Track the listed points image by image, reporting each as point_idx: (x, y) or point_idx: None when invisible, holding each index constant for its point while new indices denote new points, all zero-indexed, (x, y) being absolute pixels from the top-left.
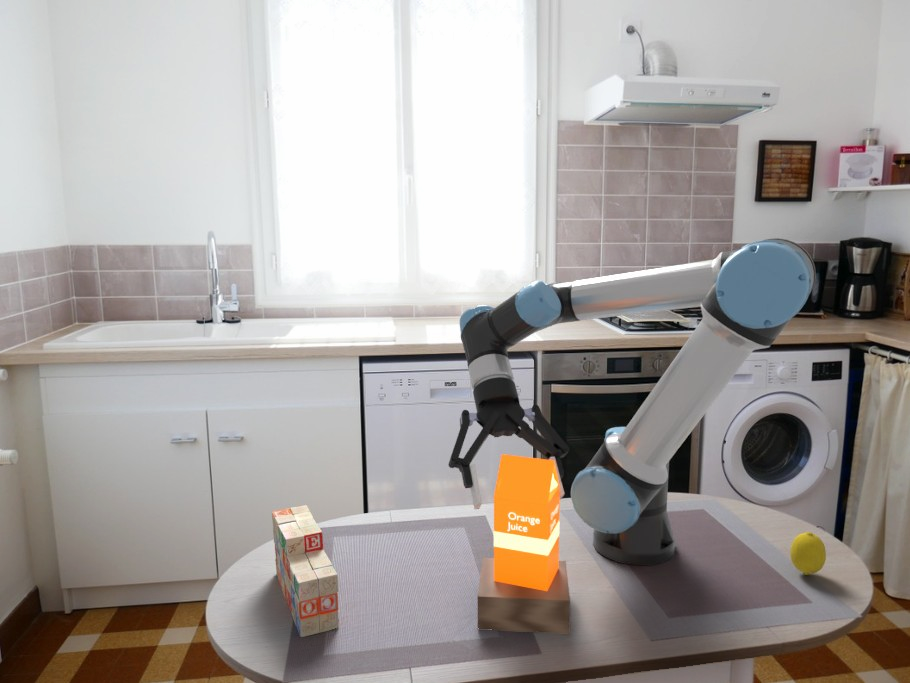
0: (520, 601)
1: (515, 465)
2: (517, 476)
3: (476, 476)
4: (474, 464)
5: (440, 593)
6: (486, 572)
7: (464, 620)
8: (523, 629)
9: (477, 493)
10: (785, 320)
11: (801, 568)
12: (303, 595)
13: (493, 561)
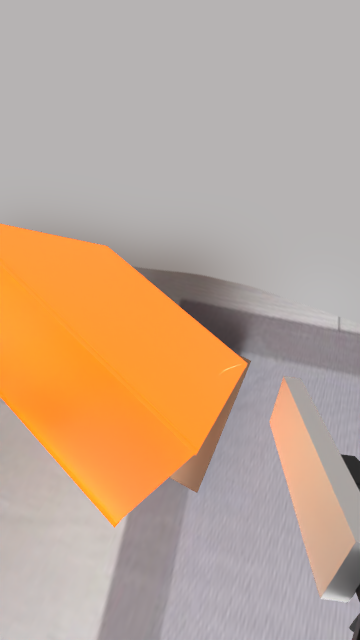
0: None
1: (141, 349)
2: (152, 327)
3: (324, 463)
4: (355, 539)
5: (266, 491)
6: (210, 429)
7: (249, 398)
8: None
9: (305, 401)
10: None
11: None
12: None
13: (181, 467)
